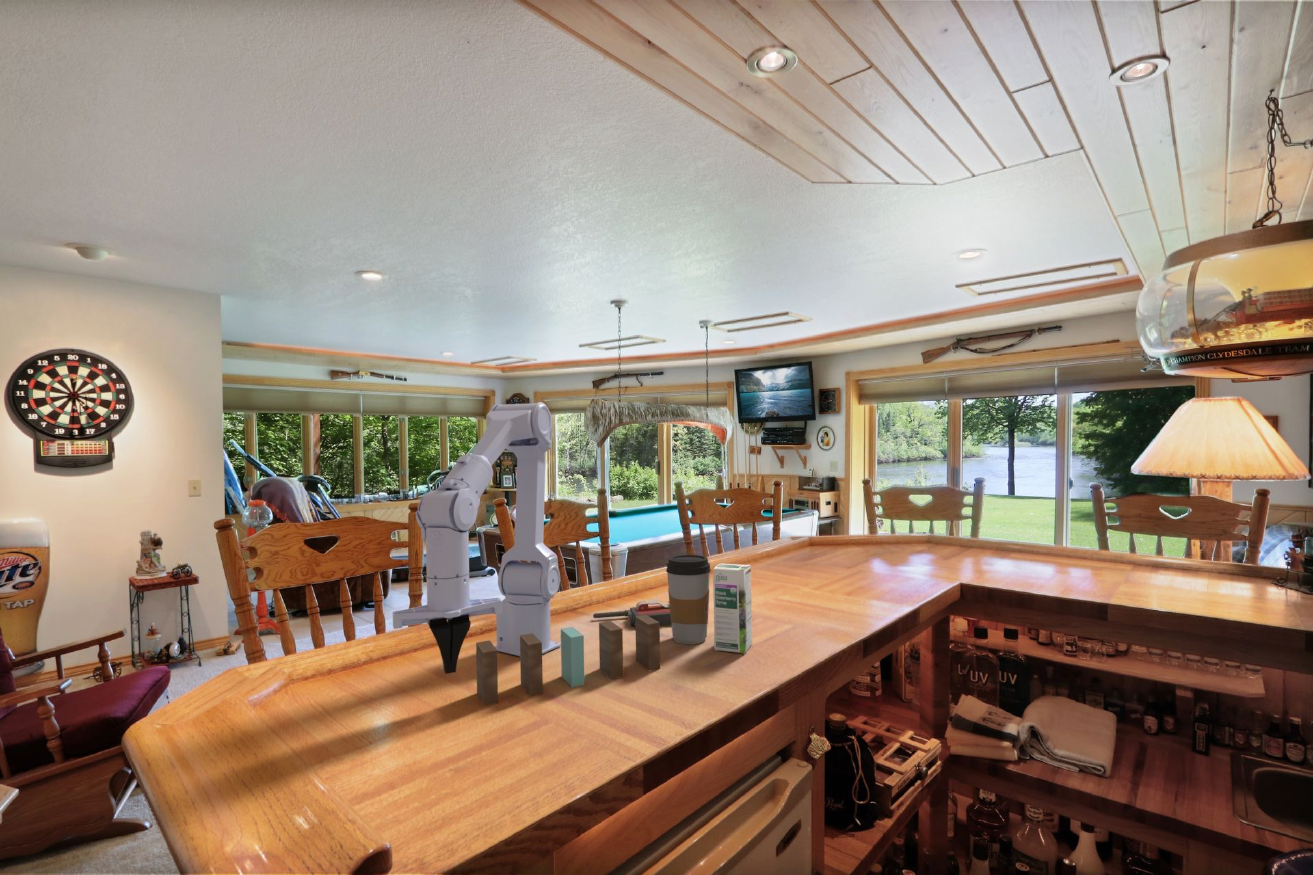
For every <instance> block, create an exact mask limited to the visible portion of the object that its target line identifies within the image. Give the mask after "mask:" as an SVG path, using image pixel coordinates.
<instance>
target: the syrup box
mask: <svg viewBox="0 0 1313 875" xmlns="http://www.w3.org/2000/svg"><path fill="white" fill-rule="evenodd" d="M712 584H713V585H712V586H713V587H712V588H713V593H712V594H713V618H714V619H713V623H714V624H713V626H714V628H713V629H714V634H713V636H714V637H713V640H714V641H713V642H714V643H713V646H714V648H713V649H714V651H716V652H721V651H722V652H728V653H729V652H730V653H736V654H742V655H743V654H744V655H745V654H746V653H747V652H748V651H749V649H750V648H751V646H752V644H753V610H752V609H753V606H752V604H753V602H752V565H751V564H733V563H719V564H716V565H715V567H714V568H713V569H712Z"/></svg>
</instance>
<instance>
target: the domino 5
mask: <svg viewBox="0 0 1313 875" xmlns="http://www.w3.org/2000/svg"><path fill="white" fill-rule="evenodd" d="M634 628H635V662H636V663H637V664H639V665H640V666H641V667H643V668H645V669H646V670H647V671H648V672H652V671H656V670H661V642H660V641H661V637H660V635H661V633H660V626H659V622H658V621H656V620H654V619H652V618H651V617H649V616H647V615H642V616H636V617H635V627H634Z"/></svg>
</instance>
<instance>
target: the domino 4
mask: <svg viewBox="0 0 1313 875" xmlns="http://www.w3.org/2000/svg"><path fill="white" fill-rule="evenodd" d="M623 630H624V629H623V628H622V627H620V626H619V625H617V624H616V623H614V622H613V621H611V620H606V621H601V622H598V641H599V642H598V643H599V645H598V646H599V649H598V650H599V652H598V653H599V669H600V670H601V672H603V673H604V674H605V675H606V676H607V677H609V678H610V680H614V679H619V678H623V677H624V642H623V640H624V639H623V636H624V635H623Z"/></svg>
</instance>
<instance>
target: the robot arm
mask: <svg viewBox="0 0 1313 875" xmlns="http://www.w3.org/2000/svg"><path fill="white" fill-rule="evenodd" d="M485 422H486V428H485V430H484V432H483V435H482V436H481V437H480V439H479V441H478V443H477V444H476V446H475V448H474V450H473V451H472V453H467V454H463V455H461V456H459V457H458V458H457V460H456V462H455V464H454V466H453V467H452V468H451V470H449V473H448V474H447V475H446V476H445V478H444V479H443V480H442V481H441V483H440V485H439V486H438V488H436V489H435V490H433V489H432V490H429V491H428V492H426V494H424V495H423V496H422V497H421V498H420V500H419V502H418V506H417V511H415V518H416V521H417V525H418V527H419V528H420V531H421V540H422V541H423V543H424V544H425V551H426V552H425V553H426V554H425V557H426V558H425V561H426V562H425V564H426V567H425V568H426V569H425V570H426V604H425V605H424V604H423V605H420V606H415V607H410V608H406V609H400V610H394V611H392V628H393V629H394V630H397V629H403V627H406V626H413V625H420V624H428V627H429V629H430V631H431V633H432V635H433V637H434V639H435V641H436V643H437V646H438V648H439V651H440V656H441V661H442V667H443V671H444V673H445V674H446V675H447V674H448V675H449V674H452V673H456V672H457V664H458V661H459V660H458V659H459V656H460V651H461V649H462V646H463V643H464V641H465V639H466V637H467V634H468V633H469V631H470V627H471V620H470V617H476V616H484V615H493V614H494V615H496V617H495V618H496V620H495V621H496V645H494V647H495V648H496V649H497V652H501V653H505V654H510V655H512V656H513V655H514V656H516V657H517V656H518V657H520V635H526V634H532V633H533V634H534V635H535V636H536V637H537V638H538V639H539V640H540V641H541V642H542V655H543V654H546V653H548V652H549V651H552V650H555V649H557V648H559V647H561V642H558V641H553V640H552V639H551V638H552V635H551V633H552V632H551V631H552V630H551V599H553V598H554V597H555V596H556V595H557V593H558V591H559V588H560V582H561V574H560V573H561V572H560V570H559V560H558V555H557V554H556V553H555V552H554V551H553V550H552V549H550V548H549V547H548V546H546V545H545V543H544V533H545V532H544V529H545V528H544V527H545V523H544V522H545V495H546V494H545V492H546V461H547V458H546V456H547V455H546V454H547V452H548V451H550V450H551V449H552V447H553V446H552V442H553V425H554V424H553V422H554V420H553V417H552V414H551V412H550V409H549V407H548V406H547V405H546V403H544V402H541V401H540V402H536V403H535V402H533V403H513V404H512V403H511V404H509V403H508V404H501V403H497V404H493V405H492V406H491V408H490V410H489V412H488V413H487V414H486V420H485ZM505 450H507V451H509V452H512V453H513V454H514V455H515V457H516V460H517V461H516V463H517V464H516V465H517V466H516V467H517V468H516V487H515V488H516V490H515V491H516V493H515V518H514V519H515V520H514V521H515V522H514V523H515V524H514V525H515V526H514V545H513V546H512V547H511V548H510V549H508V550H507V551H506V552H505V553H503V555H502V556H501V565H500V569H499V572H498V575H497V586H498V589H499V592H500V594H501V595H502V596H504V599H502V600H501V599H500V597H493V598H492V597H491V598H489V597H488V598H474V599H473V598H471V599H470V552H469V550H470V546H469V544H470V543H469V530H470V529H471V528H472V526H473V525H475V523H476V521H477V516H478V509H479V506H480V501H481V500H480V498H481V496H482V495H483V493H484V492H485V490H486V488H487V487H488V485H489V484H490V482H491V481H492V480H493V477H494V470H493V465H494V464H495V462H496V461H497V459H499V457H500V456H501V455H502V454H503V452H505ZM524 561H525V562H524ZM526 561H527V562H526ZM445 674H444V675H445Z"/></svg>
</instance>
